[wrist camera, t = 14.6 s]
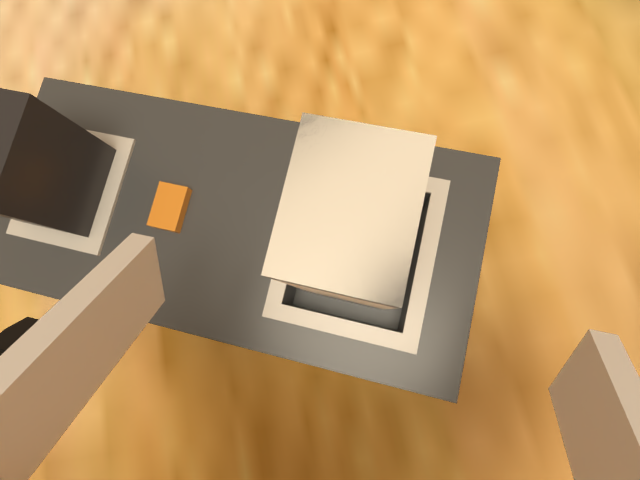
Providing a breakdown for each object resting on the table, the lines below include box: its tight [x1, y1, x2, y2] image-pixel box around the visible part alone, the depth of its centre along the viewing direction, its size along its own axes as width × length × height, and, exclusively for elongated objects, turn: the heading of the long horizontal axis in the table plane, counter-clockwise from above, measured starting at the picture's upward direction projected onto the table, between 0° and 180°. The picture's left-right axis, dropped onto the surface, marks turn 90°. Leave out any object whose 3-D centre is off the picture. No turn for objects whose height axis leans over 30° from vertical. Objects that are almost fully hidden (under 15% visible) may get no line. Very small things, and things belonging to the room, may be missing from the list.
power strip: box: [0, 77, 501, 403], centre depth 20 cm, size 26×12×10 cm, turn 77°
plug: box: [261, 113, 437, 310], centre depth 18 cm, size 4×5×12 cm
